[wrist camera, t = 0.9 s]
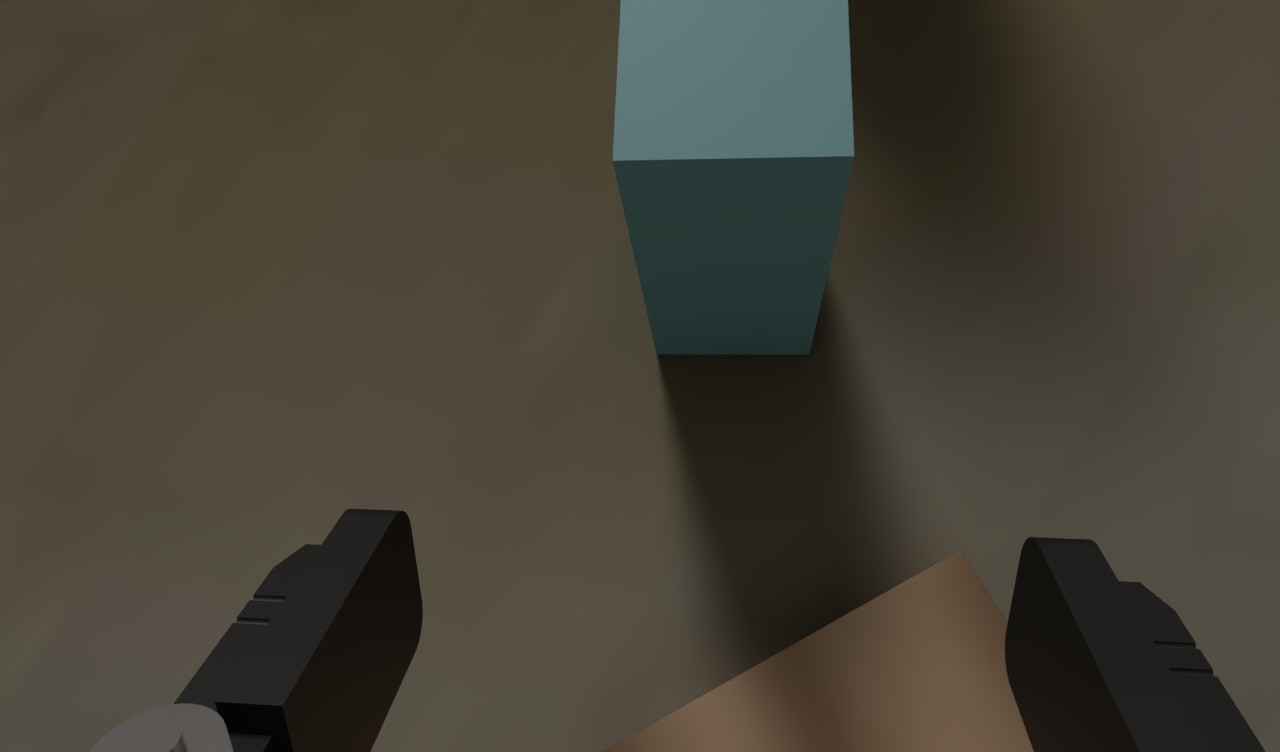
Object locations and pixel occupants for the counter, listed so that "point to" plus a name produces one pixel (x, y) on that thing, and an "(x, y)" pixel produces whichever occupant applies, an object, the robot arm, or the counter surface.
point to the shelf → (869, 682)
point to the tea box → (733, 166)
